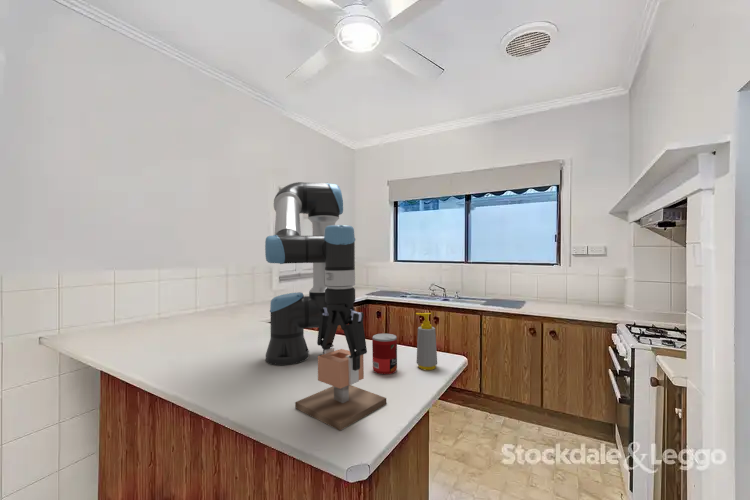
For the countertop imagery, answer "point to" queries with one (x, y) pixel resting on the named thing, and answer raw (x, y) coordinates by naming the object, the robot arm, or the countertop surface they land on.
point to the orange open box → (336, 368)
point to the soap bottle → (426, 345)
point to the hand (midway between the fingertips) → (341, 378)
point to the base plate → (340, 405)
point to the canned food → (384, 353)
